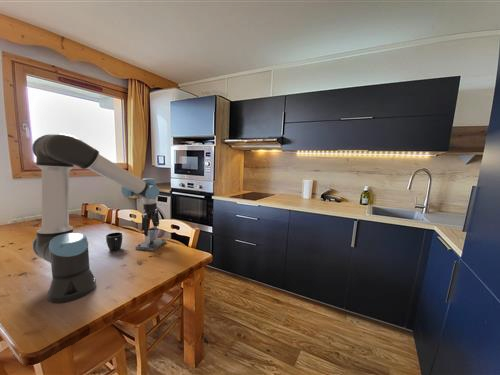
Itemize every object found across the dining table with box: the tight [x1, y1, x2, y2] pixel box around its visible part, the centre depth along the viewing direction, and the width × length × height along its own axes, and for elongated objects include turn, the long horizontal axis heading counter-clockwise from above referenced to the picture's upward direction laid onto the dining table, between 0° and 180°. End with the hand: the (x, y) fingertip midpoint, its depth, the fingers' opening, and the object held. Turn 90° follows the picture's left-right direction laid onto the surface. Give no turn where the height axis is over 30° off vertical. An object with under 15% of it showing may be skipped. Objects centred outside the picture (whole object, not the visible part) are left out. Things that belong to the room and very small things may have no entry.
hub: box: [149, 226, 159, 241], centre depth 132 cm, size 7×7×6 cm
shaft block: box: [135, 238, 167, 252], centre depth 132 cm, size 14×12×8 cm
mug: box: [105, 231, 123, 253], centre depth 124 cm, size 8×12×10 cm
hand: (151, 238), depth 132 cm, fingers closed on hub, 7 cm apart
